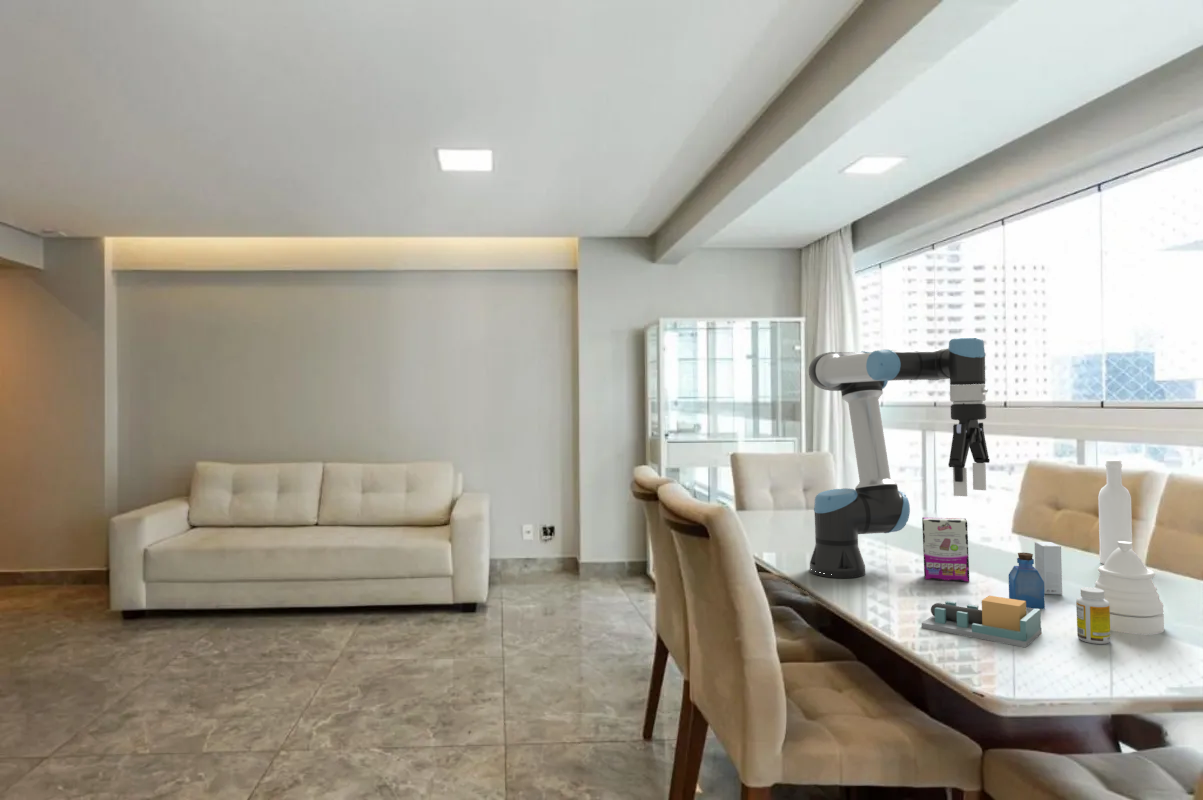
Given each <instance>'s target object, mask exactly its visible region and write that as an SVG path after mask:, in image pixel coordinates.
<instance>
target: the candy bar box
mask: <svg viewBox="0 0 1203 800" xmlns="http://www.w3.org/2000/svg"><path fill="white" fill-rule="evenodd" d="M921 520H922V522H921V525H922V526H921V527H922V545H923V546H922V547H923V548H922V551H923V552H922V553H923V575H924V580H930V581H931V580H932V581H948V582H965V583H967V582H968V583H969V582H970V561H969V560H970V559H969V536H968V535H969V534H968V521H967V518H961V517H960V518H957V517H924V516H923V517H922V519H921Z"/></svg>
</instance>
